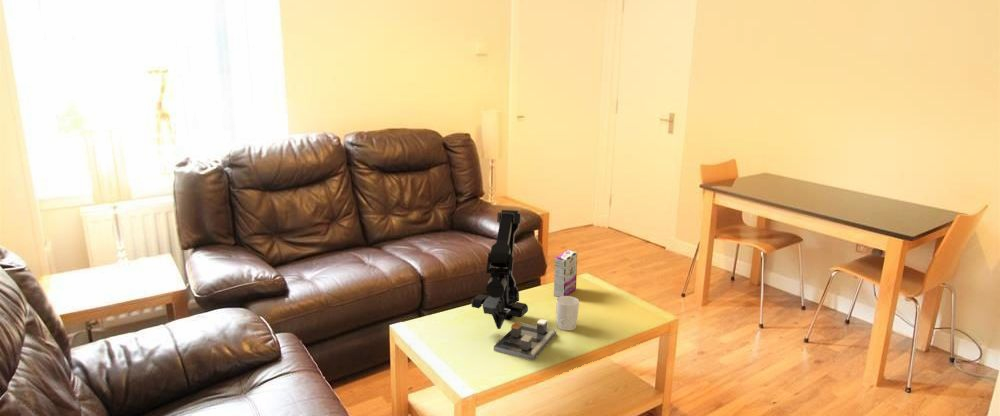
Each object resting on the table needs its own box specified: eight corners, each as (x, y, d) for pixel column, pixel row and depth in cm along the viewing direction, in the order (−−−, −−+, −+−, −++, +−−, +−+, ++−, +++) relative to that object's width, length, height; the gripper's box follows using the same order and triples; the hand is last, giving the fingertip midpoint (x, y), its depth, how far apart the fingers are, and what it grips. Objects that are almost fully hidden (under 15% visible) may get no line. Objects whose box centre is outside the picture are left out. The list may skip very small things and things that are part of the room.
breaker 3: (536, 332, 205) (536, 322, 204) (540, 328, 207) (540, 318, 207) (543, 333, 204) (543, 324, 203) (546, 330, 206) (547, 320, 205)
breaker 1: (510, 335, 202) (511, 326, 201) (514, 332, 205) (515, 322, 204) (517, 337, 201) (517, 327, 200) (521, 333, 204) (521, 323, 203)
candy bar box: (565, 287, 248) (567, 249, 244) (576, 289, 246) (578, 251, 242) (552, 296, 239) (554, 257, 235) (564, 299, 237) (565, 259, 232)
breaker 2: (520, 348, 193) (521, 338, 193) (524, 344, 196) (525, 334, 195) (527, 350, 192) (528, 340, 191) (531, 346, 195) (532, 336, 194)
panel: (493, 350, 196) (493, 346, 196) (519, 326, 213) (519, 321, 213) (533, 360, 190) (533, 356, 190) (556, 334, 207) (556, 330, 207)
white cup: (576, 332, 209) (578, 306, 206) (554, 330, 211) (555, 303, 208) (578, 322, 216) (579, 297, 214) (556, 320, 218) (557, 294, 215)
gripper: (463, 289, 198) (463, 332, 202) (514, 299, 190) (514, 344, 194) (479, 277, 208) (479, 319, 212) (529, 287, 200) (527, 330, 204)
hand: (499, 328), depth 205 cm, fingers closed
